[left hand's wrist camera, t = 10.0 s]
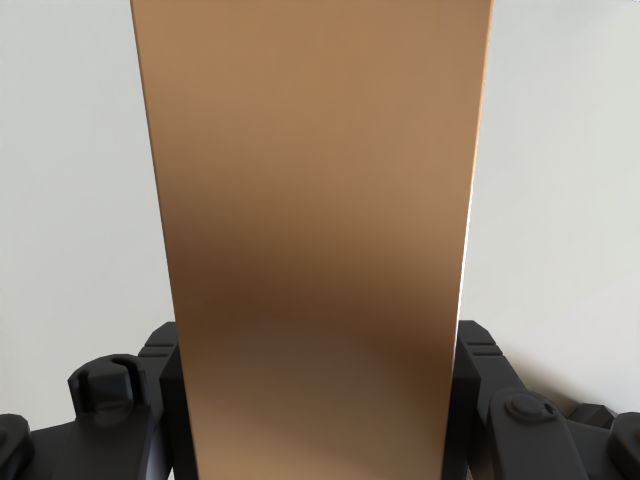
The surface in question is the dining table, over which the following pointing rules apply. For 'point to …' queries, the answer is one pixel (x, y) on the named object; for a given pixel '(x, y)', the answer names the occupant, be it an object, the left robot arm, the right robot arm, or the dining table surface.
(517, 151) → the dining table surface
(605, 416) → the electronic device
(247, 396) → the bar
